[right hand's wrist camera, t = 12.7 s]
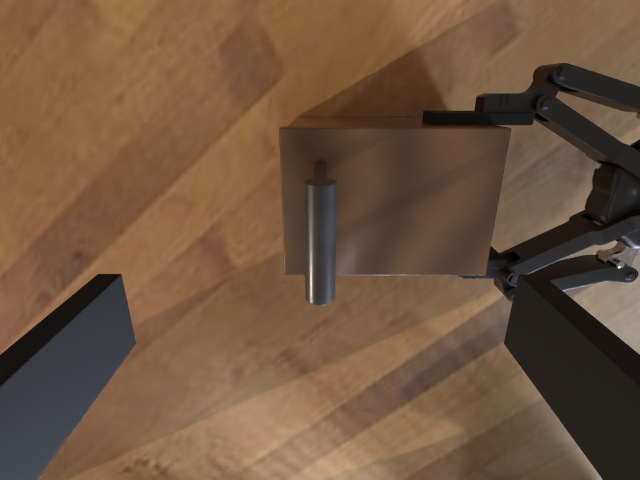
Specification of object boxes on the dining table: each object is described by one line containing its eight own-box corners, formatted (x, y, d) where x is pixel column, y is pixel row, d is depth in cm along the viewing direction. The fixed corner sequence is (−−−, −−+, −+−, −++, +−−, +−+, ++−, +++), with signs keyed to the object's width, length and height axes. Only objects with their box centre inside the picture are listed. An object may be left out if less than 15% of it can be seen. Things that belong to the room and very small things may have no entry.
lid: (285, 269, 27) (272, 336, 20) (280, 126, 23) (262, 142, 16) (480, 270, 27) (539, 336, 20) (505, 126, 23) (588, 143, 16)
